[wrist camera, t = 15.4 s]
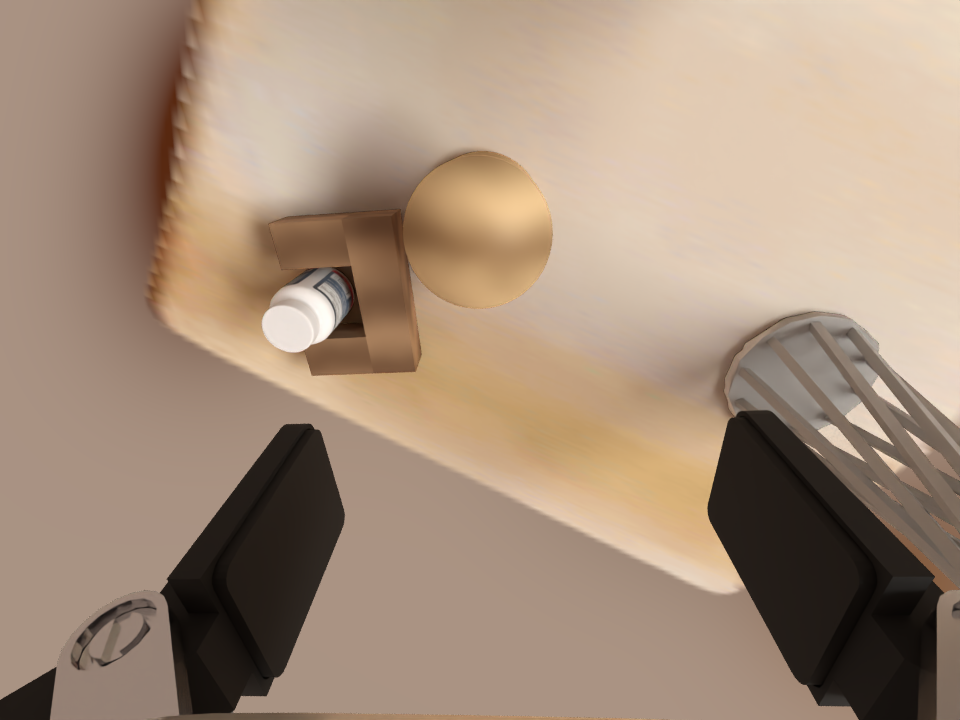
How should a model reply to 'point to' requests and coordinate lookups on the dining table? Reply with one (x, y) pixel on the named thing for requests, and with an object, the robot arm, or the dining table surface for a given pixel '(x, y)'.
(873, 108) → the dining table surface
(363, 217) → the notched board
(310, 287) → the pill bottle
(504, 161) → the wooden spool
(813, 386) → the grey lattice tower
